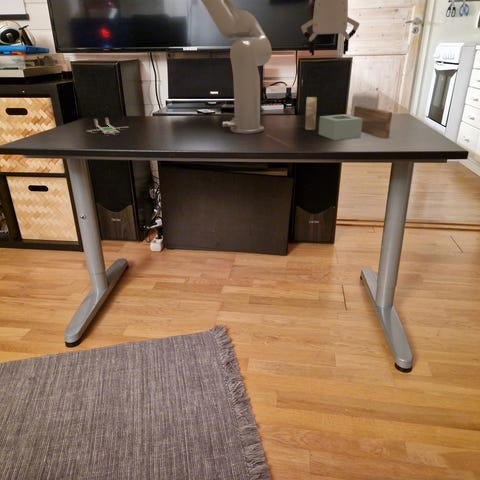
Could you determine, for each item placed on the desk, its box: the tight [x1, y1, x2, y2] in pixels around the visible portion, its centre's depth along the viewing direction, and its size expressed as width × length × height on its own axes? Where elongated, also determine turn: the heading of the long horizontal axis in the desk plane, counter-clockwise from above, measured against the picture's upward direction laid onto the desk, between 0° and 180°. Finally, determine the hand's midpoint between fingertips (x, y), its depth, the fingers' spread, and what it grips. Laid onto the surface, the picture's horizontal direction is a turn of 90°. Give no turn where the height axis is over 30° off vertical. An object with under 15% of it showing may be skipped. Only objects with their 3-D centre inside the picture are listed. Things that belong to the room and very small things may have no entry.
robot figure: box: [85, 117, 130, 135], centre depth 160 cm, size 16×3×22 cm
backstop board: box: [354, 106, 393, 139], centre depth 135 cm, size 20×18×9 cm
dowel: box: [304, 96, 318, 131], centre depth 145 cm, size 4×4×12 cm
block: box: [318, 113, 363, 141], centre depth 134 cm, size 10×10×6 cm
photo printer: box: [350, 89, 380, 116], centre depth 160 cm, size 10×4×12 cm, turn 60°
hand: (328, 54), depth 126 cm, fingers open, 9 cm apart
